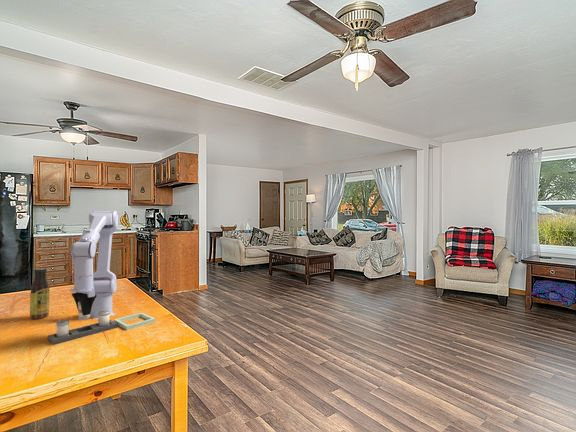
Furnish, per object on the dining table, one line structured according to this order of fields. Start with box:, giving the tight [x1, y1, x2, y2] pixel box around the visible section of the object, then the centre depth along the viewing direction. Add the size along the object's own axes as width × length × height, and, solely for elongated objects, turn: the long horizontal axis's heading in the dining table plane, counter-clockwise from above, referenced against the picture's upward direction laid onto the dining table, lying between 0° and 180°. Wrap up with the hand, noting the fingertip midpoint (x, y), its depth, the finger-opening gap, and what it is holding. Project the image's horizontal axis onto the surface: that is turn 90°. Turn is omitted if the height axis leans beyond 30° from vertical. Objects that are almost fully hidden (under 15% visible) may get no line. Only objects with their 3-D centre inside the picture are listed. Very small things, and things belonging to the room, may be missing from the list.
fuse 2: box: [97, 310, 110, 327], centre depth 119 cm, size 4×4×6 cm
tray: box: [113, 312, 156, 331], centre depth 125 cm, size 11×11×2 cm
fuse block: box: [47, 319, 119, 346], centre depth 114 cm, size 7×20×2 cm, turn 141°
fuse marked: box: [77, 301, 91, 320], centre depth 114 cm, size 4×4×6 cm
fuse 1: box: [55, 319, 70, 338], centre depth 109 cm, size 4×4×6 cm
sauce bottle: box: [29, 267, 50, 320], centre depth 132 cm, size 7×6×20 cm
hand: (84, 313), depth 114 cm, fingers closed on fuse marked, 4 cm apart
